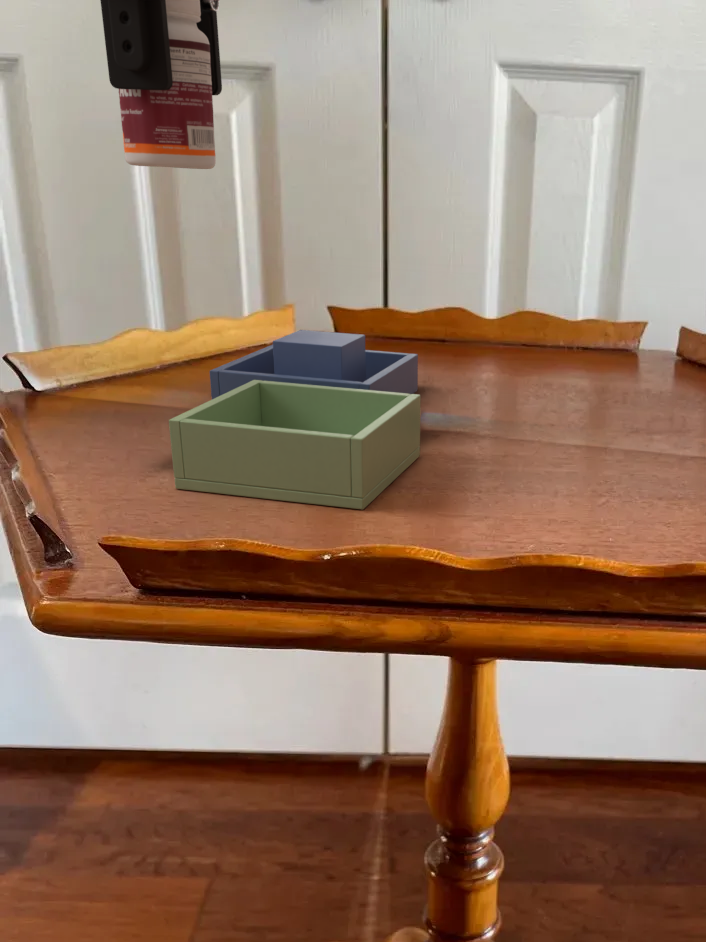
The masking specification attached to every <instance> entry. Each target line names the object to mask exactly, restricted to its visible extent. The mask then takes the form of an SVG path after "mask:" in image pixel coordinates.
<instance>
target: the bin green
mask: <svg viewBox="0 0 706 942" xmlns="http://www.w3.org/2000/svg"><path fill="white" fill-rule="evenodd" d="M421 400H422V399H421V394H418V393H413V394H408V393H397V392H385V391H374V390H363V389H352V388H341V387H330V386H318V385H307V384H296V383H285V382H274V381H262V380H253V381H250V382H248V383H246V384H244V385H242V386H240V387H238V388H236V389H233V390H231V391H229V392H227V393H225V394H223V395H221V396H219V397H216V398H214V399H212V398H211V399H210V400H208V401H206V402H204V403H202V404H200V405H197V406H195V407H193V408H191V409H189V410H186V411H185V412H182V413H180V414H178V415H176V416H174V417H172V418H170V419H168V428H169V438H170V449H171V458H172V459H171V460H172V468H173V469H172V470H173V477H174V487H175V489H177V490H185V491H191V492H192V491H194V492H203V493H211V494H218V495H219V494H220V495H229V496H237V497H246V498H253V499H254V498H255V499H262V500H263V499H264V500H273V501H274V500H275V501H282V502H292V503H299V504H300V503H301V504H307V505H317V506H326V507H335V508H343V509H344V508H345V509H353V510H364V509H365V508H366V507H367V506H369V505H370V504H371V503H372V502H373V501H374V500H375V499H377V497H378V496H379V495H380V494H382V492H384V491H385V490H386V488H388V487H389V486H390V485H391V484H392V483H393V482H394V481H395V480H396V479H397V478H398V477H399V476H401V475H402V474H403V472H405V470H407V469H408V468H409V467H410V466H411V465H412V464H413V463H414V462H415V461H416V460H418V458H419V457H420V456H421Z"/></svg>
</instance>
